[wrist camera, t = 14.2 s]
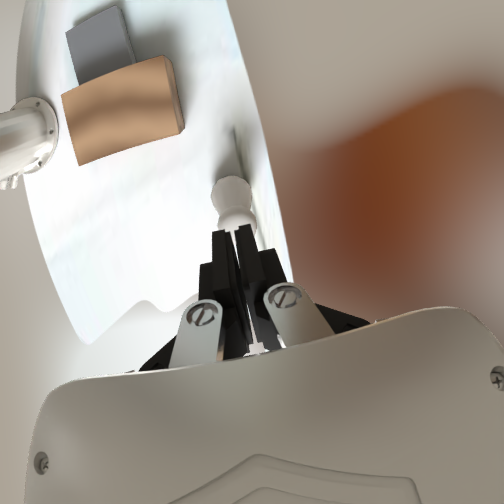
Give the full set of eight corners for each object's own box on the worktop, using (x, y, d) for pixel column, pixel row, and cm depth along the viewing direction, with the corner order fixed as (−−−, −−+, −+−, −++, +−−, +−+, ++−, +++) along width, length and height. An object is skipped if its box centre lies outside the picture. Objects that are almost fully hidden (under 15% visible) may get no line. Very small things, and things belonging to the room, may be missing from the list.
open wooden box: (184, 128, 35) (179, 134, 29) (98, 154, 34) (79, 166, 28) (171, 61, 29) (163, 54, 23) (83, 93, 29) (60, 94, 23)
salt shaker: (206, 176, 39) (204, 212, 28) (245, 167, 39) (260, 199, 28) (216, 212, 42) (218, 258, 31) (253, 203, 42) (269, 247, 31)
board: (149, 100, 32) (144, 100, 29) (100, 122, 32) (92, 125, 30) (121, 10, 23) (115, 4, 21) (74, 35, 24) (65, 32, 21)
